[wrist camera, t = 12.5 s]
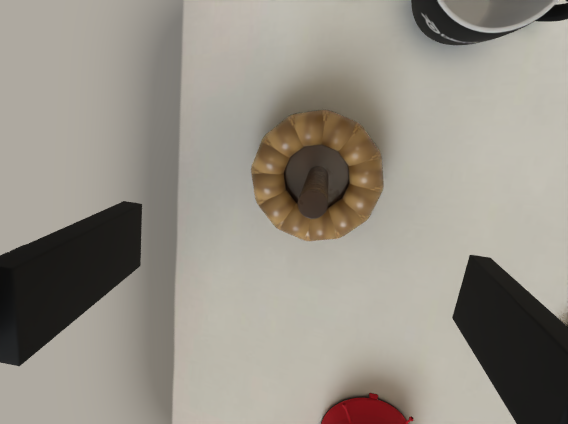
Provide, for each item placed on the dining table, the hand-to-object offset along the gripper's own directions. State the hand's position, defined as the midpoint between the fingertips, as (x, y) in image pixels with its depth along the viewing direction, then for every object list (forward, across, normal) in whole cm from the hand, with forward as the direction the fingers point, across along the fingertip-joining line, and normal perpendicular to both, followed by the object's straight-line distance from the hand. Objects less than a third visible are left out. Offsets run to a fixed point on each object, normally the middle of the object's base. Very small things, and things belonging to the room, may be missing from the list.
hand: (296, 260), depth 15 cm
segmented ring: (+21, 0, 0) cm, 21 cm away
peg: (+23, 0, 0) cm, 23 cm away
